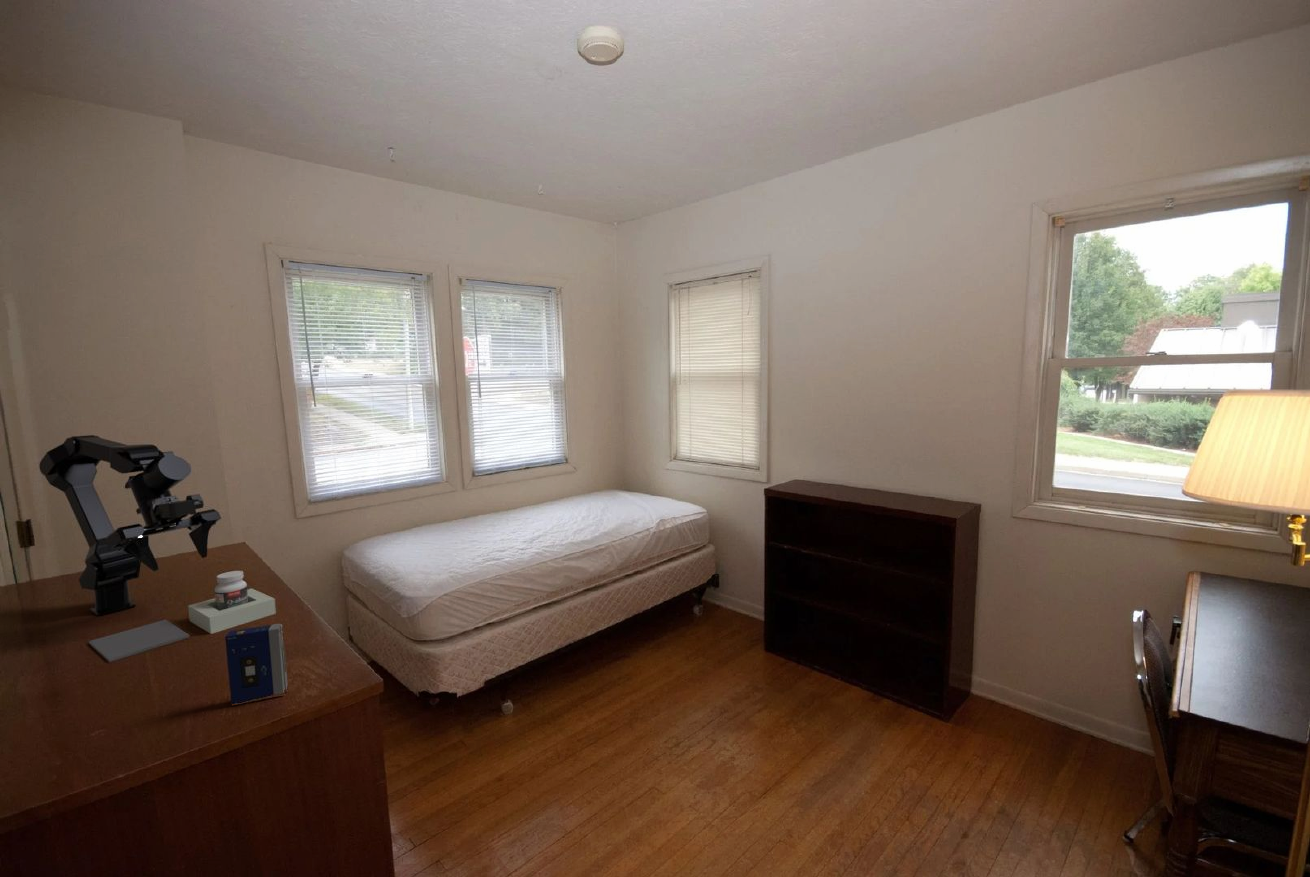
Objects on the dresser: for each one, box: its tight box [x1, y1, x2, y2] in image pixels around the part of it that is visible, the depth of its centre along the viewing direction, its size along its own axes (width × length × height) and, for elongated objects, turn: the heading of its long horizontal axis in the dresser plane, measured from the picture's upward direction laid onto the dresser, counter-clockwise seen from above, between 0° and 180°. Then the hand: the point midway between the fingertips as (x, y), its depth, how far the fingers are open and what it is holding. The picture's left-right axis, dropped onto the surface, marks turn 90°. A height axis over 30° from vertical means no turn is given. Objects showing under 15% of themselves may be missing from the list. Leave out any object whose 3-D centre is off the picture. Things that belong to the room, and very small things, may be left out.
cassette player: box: [224, 622, 289, 705], centre depth 90 cm, size 7×2×12 cm, turn 114°
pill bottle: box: [214, 570, 248, 611], centre depth 122 cm, size 6×6×10 cm
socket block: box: [187, 588, 277, 635], centre depth 122 cm, size 12×12×4 cm
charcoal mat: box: [88, 619, 190, 663], centre depth 111 cm, size 14×12×1 cm
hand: (181, 563), depth 118 cm, fingers open, 9 cm apart
